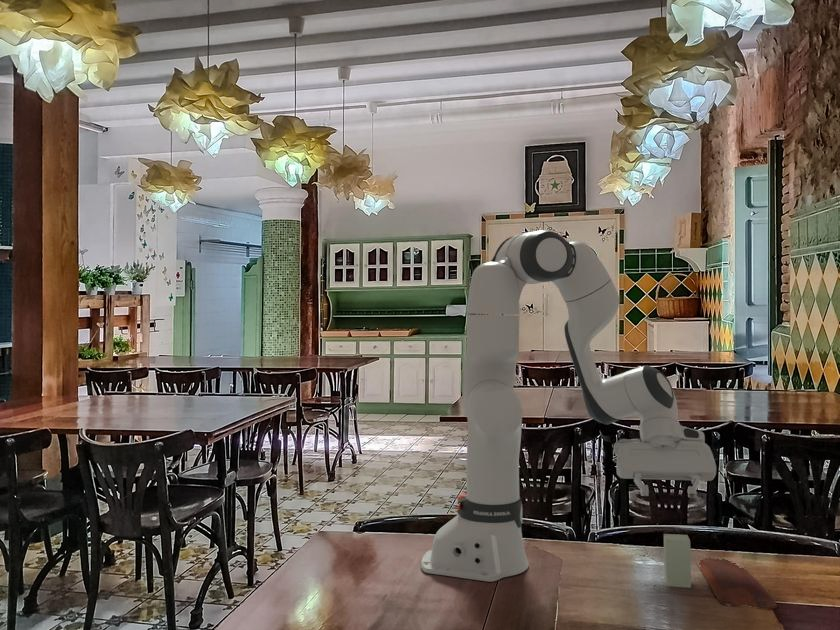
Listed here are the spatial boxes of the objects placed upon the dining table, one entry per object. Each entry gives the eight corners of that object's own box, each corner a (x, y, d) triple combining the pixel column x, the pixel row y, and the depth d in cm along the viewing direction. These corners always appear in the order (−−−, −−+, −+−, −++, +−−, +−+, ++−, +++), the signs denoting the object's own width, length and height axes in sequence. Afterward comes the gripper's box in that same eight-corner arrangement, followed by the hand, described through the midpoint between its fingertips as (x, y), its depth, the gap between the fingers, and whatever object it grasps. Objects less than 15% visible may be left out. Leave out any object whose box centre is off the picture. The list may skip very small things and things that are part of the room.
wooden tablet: (781, 613, 121) (781, 604, 121) (720, 609, 123) (720, 600, 123) (739, 559, 148) (739, 551, 147) (690, 556, 149) (690, 549, 149)
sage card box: (666, 586, 133) (666, 539, 133) (664, 579, 136) (663, 533, 136) (691, 587, 132) (690, 540, 132) (688, 580, 135) (687, 534, 135)
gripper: (613, 430, 153) (617, 485, 144) (711, 432, 149) (722, 489, 139) (612, 447, 158) (616, 501, 148) (707, 448, 153) (718, 504, 144)
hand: (668, 495), depth 144 cm, fingers open, 8 cm apart
